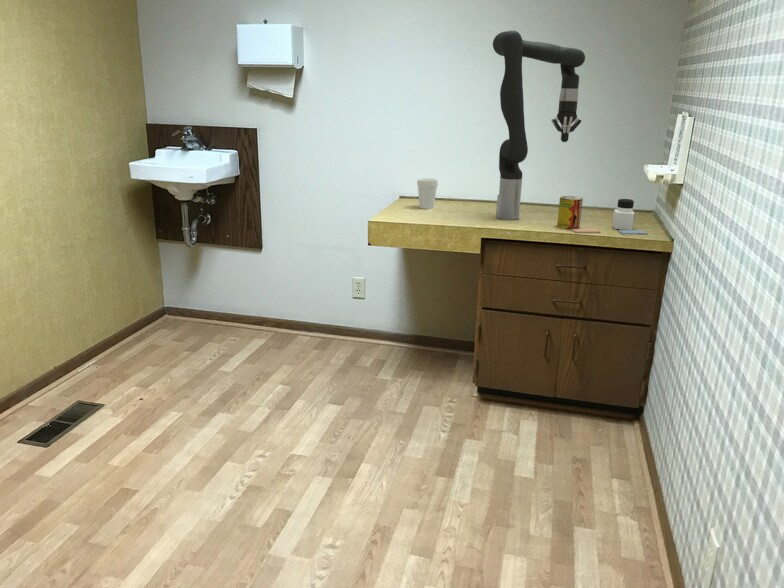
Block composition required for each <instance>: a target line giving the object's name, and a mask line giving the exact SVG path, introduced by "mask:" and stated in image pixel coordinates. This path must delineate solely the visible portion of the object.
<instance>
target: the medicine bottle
mask: <svg viewBox="0 0 784 588" xmlns="http://www.w3.org/2000/svg"><path fill="white" fill-rule="evenodd" d="M634 204H635V201H634V199H631V198H619V199H618V200H617V207H616V208H617V209H615V208H614V209H613V219H612V227H613V229H614V230H615V229H619V230H634V223H635V217H636V214H635V212H634Z"/></svg>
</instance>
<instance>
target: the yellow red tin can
mask: <svg viewBox="0 0 784 588" xmlns="http://www.w3.org/2000/svg"><path fill="white" fill-rule="evenodd" d="M583 199H584V197H581V196H574V195H573V196H572V195H563V196H559V203H558V212H557V223H556V227H557V228H559V229H562V228H564V229H563V230H571V229H581V227H580V226H581V219H582V209H583Z"/></svg>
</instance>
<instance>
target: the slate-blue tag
mask: <svg viewBox="0 0 784 588" xmlns="http://www.w3.org/2000/svg"><path fill="white" fill-rule="evenodd" d="M617 232H618V233H619V232H620V233H619V234H621V233H622V234H621V235H623V234H647V235H648V234H649V233H648V232H646V231H644V230H641V229H639V230H635V229H633V230H617Z"/></svg>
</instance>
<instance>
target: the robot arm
mask: <svg viewBox="0 0 784 588" xmlns="http://www.w3.org/2000/svg"><path fill="white" fill-rule="evenodd" d="M492 47H493V50H494V52H495V53H496V54H497V55H499V56H501V57H504V73H503V74H504V75H503V78H502V81H501V85H500V91H499V97H500V98H499V100H500V109H501V113H502V116H503V118H504V121H505V123H506V125H507V128H508V129H507V130H508V139H505V140H503V142H502V143H501V145H500V149H499V155H498V170H499V177H500V178H499V188H498V189H499V190H498V192H499V193H498V194H497V197H496V198H497V199H496V201H497V202H496V211H495V212H496V213H495V214H496V215H495V217H496V218H497V219H499V220H504V219H506V220H507V221H511V220H512V221H516V220H519V219H520V208H521V196H522V185H523V184H522V183H523V171H522V170H521V168H520V166H519V163H522V162H524V161H525V160H526V158H527V156H528V153H529V152H528V151H529V149H528V141H527V134H526V127H525V126H526V124H525V123H526V122H525V106H524V105H525V104H524V101H525V100H524V87H523V84H524V83H523V58H528V59H532V60H536V61H541V62H545V63H549V64H554V65H555V64H557V65H559V66H560V73H561V86H560V93H559V98H558V99H559V100H558V111H557V114H556V117H555V118H552V119H551V123H552V124H553V126H554V128H555V129H556V131H557V132H559V133H561V134H560V141H561V142H562V143H567V142H568V141H569V137H570V133H573V132H574V131H575V130H576V129H577V127H578V126H579V125H580V124H581V123H582V120H581V119H579V118H578V114H577V110H578V102H579V101H578V100H579V85H580V75H579V74H577V73H576V69H575V68H579V67H581V66H583V64H584V63H585V61H586V54H585V53H584V51H582V50H581V49H580V48H573V47H567V46H566V47H565V46H560V45H556V44H552V43H548V42H541V41H540V42H539V41H532V40H531V41H530V40H525V39H523V37H522V35H521V34H520V32H519V31H516V30H507V31H502V32H499V33H498V34H496V35H495V37H494V38H493V41H492ZM515 219H516V220H515ZM506 220H505V221H506Z"/></svg>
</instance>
